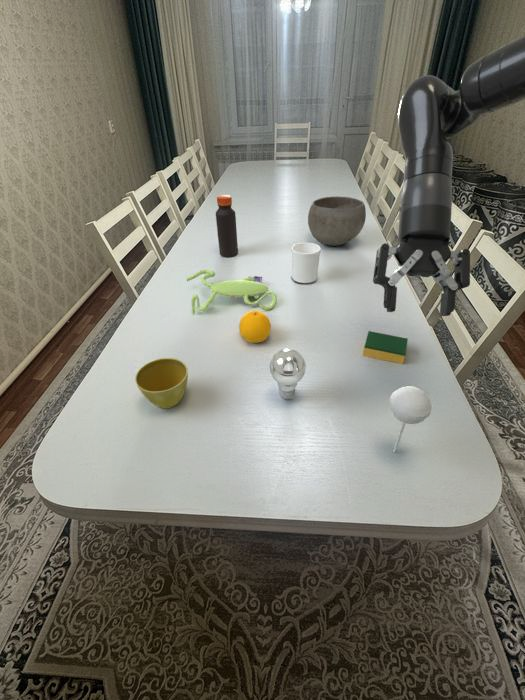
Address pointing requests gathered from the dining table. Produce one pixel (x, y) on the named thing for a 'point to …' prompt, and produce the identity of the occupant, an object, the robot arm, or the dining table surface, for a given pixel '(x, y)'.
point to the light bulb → (287, 371)
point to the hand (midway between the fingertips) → (418, 313)
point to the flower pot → (163, 381)
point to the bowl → (336, 219)
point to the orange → (255, 326)
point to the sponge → (385, 347)
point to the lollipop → (409, 407)
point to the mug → (305, 262)
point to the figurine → (233, 290)
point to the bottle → (226, 227)
